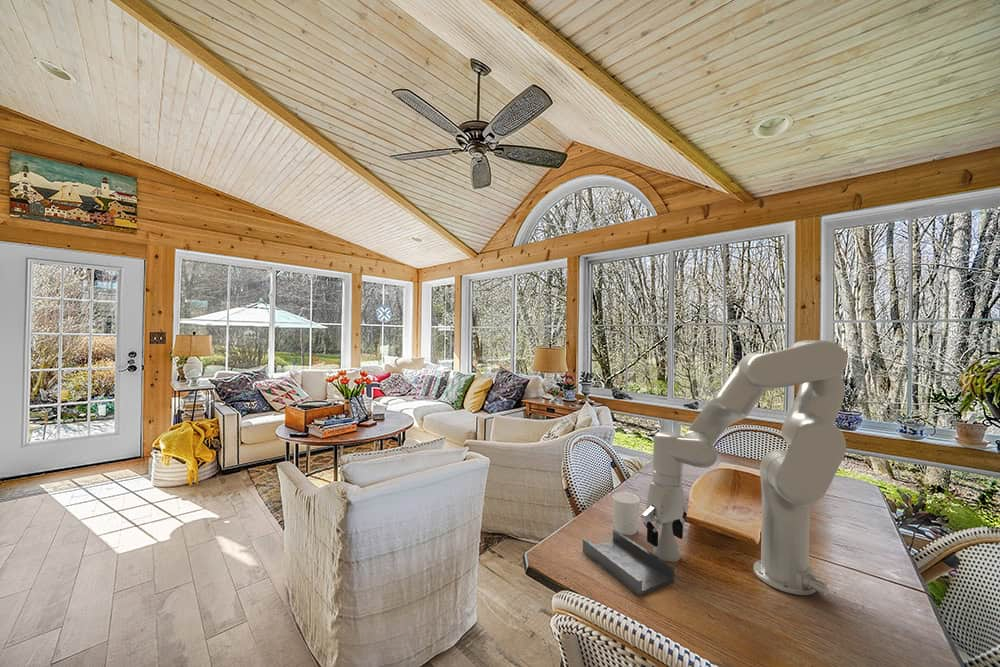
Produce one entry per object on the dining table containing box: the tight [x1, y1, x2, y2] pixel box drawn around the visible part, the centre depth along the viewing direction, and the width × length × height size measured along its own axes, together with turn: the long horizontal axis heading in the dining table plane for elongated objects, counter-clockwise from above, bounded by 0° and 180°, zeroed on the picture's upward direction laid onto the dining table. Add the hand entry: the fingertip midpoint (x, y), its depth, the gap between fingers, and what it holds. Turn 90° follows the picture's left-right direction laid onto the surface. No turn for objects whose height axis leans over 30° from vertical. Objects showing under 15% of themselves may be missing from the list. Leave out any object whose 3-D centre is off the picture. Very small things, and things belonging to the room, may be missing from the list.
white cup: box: [612, 492, 641, 536], centre depth 119 cm, size 8×8×10 cm
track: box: [582, 529, 676, 597], centre depth 100 cm, size 20×12×4 cm, turn 27°
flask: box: [651, 521, 682, 563], centre depth 105 cm, size 7×7×10 cm
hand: (664, 540), depth 105 cm, fingers open, 9 cm apart
